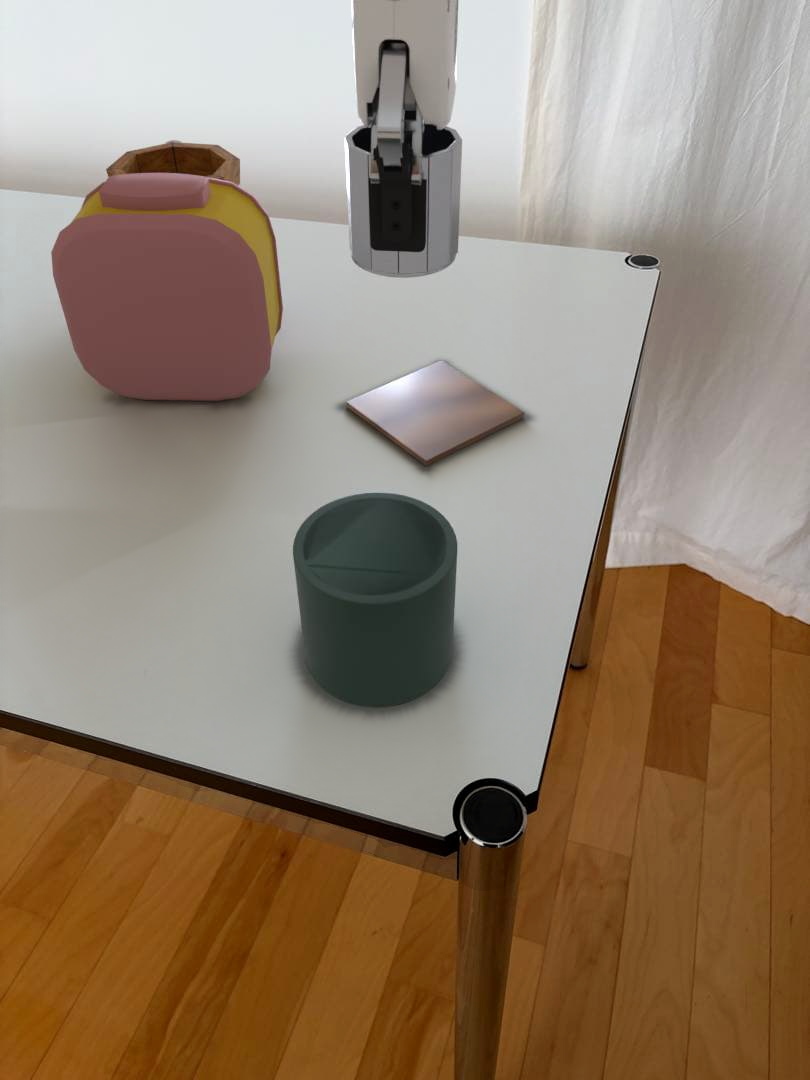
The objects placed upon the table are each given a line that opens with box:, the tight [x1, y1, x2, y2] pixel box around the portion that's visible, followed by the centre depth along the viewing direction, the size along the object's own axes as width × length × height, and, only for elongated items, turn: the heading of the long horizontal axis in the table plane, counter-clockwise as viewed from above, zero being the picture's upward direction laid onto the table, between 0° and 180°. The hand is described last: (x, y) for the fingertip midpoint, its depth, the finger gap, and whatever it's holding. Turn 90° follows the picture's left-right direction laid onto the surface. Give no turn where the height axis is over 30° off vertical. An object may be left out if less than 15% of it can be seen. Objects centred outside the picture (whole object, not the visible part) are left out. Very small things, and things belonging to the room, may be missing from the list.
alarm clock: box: [50, 173, 284, 402], centre depth 83 cm, size 18×11×19 cm, turn 88°
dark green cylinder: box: [292, 491, 458, 708], centre depth 60 cm, size 10×10×10 cm
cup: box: [344, 119, 463, 279], centre depth 54 cm, size 7×7×7 cm
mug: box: [105, 139, 241, 187], centre depth 99 cm, size 20×14×15 cm
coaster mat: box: [345, 360, 525, 467], centre depth 85 cm, size 12×12×1 cm
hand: (404, 220), depth 55 cm, fingers closed on cup, 6 cm apart
